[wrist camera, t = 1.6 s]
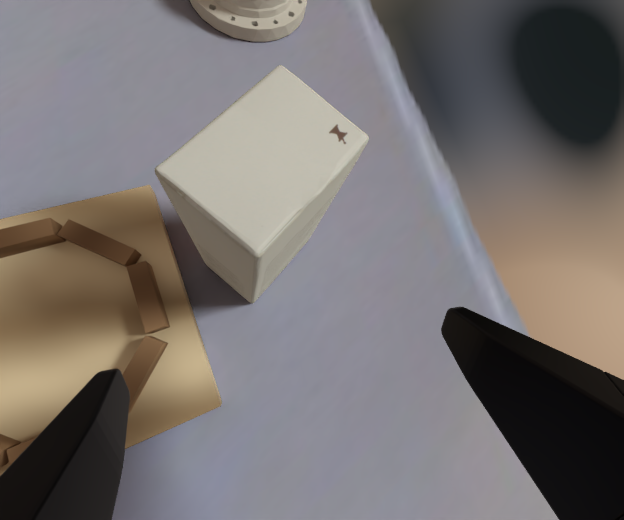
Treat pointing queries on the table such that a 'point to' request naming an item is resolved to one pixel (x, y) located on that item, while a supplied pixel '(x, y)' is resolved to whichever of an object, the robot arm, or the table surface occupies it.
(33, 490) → the robot arm
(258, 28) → the mechanical component
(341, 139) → the skincare box
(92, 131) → the table surface
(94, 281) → the board
